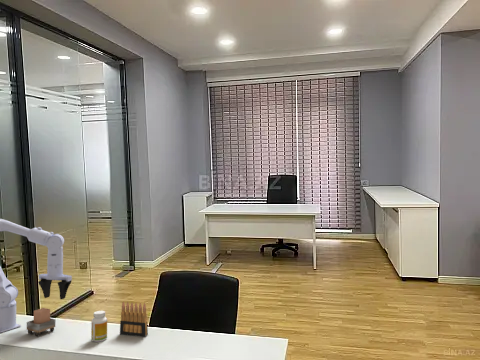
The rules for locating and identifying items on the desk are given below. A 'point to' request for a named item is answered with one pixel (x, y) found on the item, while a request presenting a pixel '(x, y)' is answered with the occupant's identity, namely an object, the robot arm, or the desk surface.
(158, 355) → the desk surface
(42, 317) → the block
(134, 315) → the ammunition clip
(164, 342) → the desk surface
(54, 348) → the desk surface
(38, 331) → the cart
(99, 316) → the supplement bottle
